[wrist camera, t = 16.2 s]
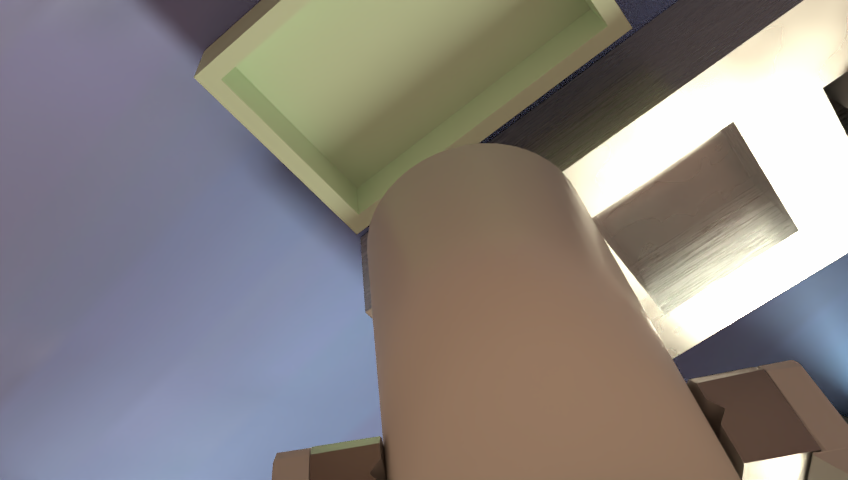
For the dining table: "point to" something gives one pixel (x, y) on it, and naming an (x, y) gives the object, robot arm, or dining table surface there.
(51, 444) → the dining table surface
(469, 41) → the tray
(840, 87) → the dark brown rounded plug
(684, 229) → the white slotted holder
